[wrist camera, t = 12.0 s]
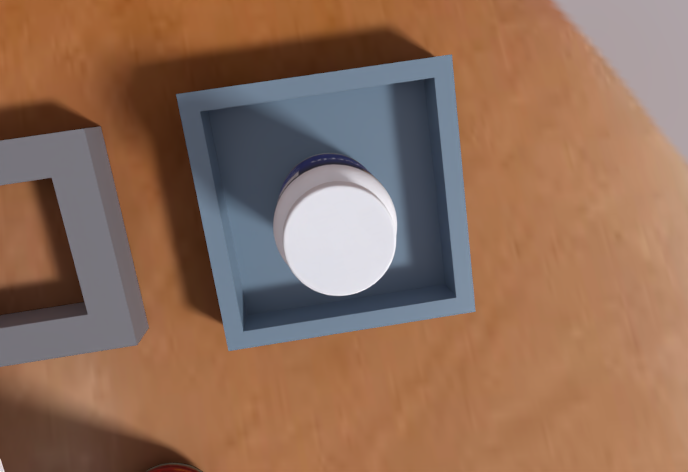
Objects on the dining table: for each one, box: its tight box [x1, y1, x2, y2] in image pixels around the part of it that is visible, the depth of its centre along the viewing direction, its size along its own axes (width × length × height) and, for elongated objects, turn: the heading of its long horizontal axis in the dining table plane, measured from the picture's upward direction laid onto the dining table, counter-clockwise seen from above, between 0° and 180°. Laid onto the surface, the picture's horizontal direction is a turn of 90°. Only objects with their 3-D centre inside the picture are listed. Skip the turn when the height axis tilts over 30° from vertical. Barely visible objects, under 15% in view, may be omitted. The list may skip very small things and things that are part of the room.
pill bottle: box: [273, 153, 397, 296], centre depth 28 cm, size 6×6×10 cm
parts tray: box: [176, 55, 475, 351], centre depth 32 cm, size 14×14×3 cm
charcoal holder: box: [0, 126, 149, 367], centre depth 32 cm, size 12×12×2 cm
